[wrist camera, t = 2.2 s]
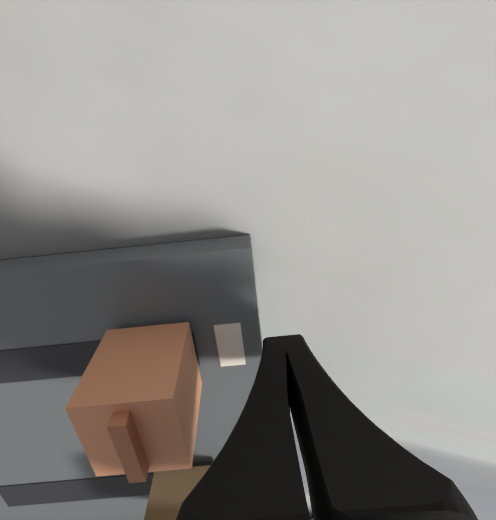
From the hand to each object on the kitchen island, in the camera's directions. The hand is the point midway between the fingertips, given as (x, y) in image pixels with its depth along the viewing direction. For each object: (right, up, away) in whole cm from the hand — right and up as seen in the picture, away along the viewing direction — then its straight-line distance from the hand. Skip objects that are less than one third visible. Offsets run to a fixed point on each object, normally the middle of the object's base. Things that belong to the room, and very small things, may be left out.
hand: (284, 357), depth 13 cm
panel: (-10, -3, +4) cm, 11 cm away
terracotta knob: (-5, 0, +1) cm, 5 cm away
